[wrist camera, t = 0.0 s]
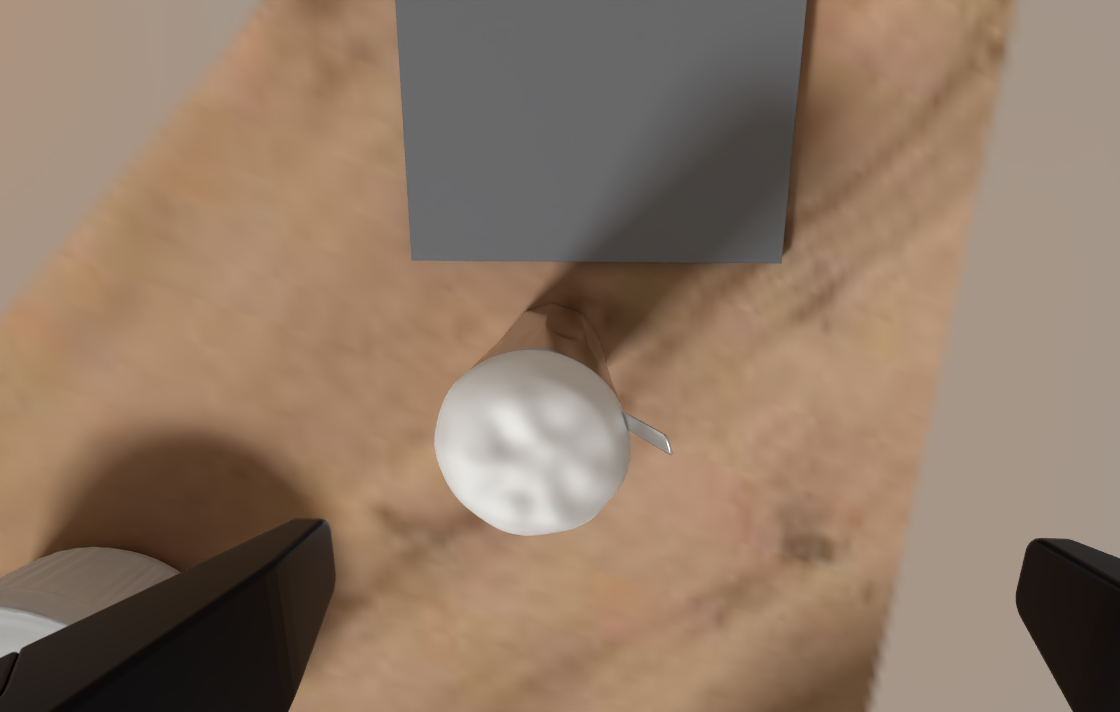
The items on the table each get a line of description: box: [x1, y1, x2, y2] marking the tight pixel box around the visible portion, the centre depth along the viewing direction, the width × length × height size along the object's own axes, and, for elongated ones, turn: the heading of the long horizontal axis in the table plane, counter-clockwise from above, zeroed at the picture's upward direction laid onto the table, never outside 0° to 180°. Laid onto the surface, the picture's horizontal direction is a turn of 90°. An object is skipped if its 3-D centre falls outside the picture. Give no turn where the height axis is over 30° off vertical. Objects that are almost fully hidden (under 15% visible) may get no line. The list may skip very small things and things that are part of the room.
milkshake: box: [434, 303, 672, 535], centre depth 18 cm, size 4×5×10 cm
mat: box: [395, 0, 807, 263], centre depth 20 cm, size 11×12×1 cm
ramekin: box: [0, 547, 181, 658], centre depth 25 cm, size 11×11×5 cm
